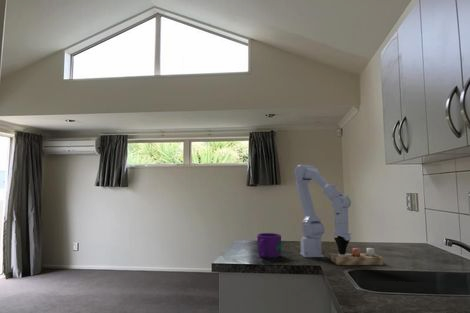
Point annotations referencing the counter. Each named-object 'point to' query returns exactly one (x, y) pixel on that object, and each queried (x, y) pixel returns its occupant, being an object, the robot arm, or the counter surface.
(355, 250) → the plug red
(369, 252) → the plug right
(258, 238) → the mug
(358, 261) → the socket block
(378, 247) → the counter surface
